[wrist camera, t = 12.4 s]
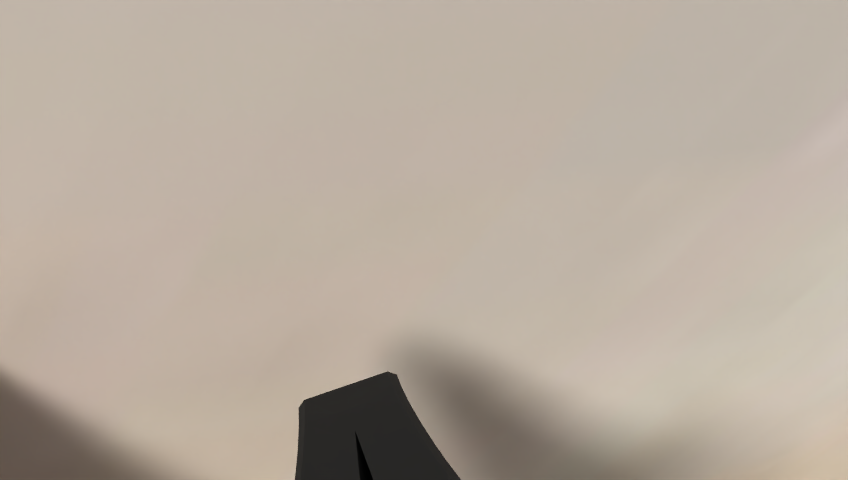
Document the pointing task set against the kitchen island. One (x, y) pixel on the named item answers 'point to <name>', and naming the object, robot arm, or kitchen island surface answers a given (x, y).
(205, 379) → the kitchen island surface
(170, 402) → the kitchen island surface
